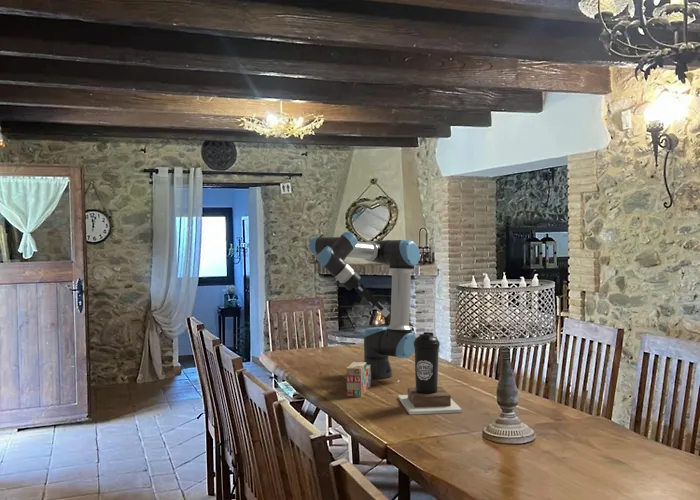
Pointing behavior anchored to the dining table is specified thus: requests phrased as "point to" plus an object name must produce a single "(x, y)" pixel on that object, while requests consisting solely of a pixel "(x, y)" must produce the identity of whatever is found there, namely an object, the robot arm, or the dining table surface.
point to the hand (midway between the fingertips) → (384, 312)
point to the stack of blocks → (358, 378)
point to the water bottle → (426, 363)
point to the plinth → (429, 398)
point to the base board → (428, 410)
